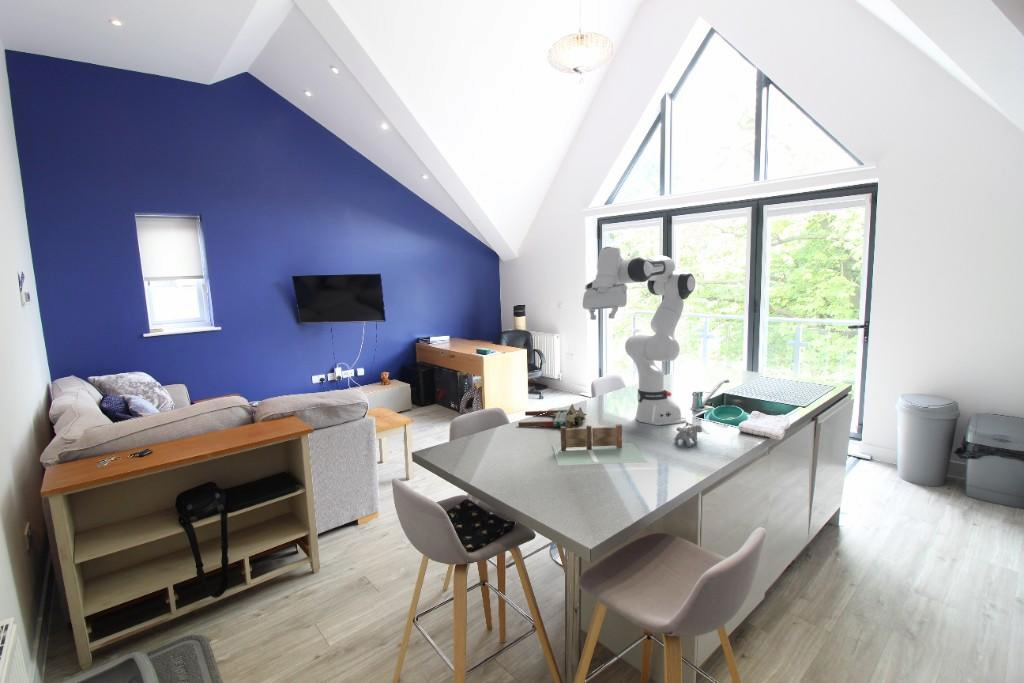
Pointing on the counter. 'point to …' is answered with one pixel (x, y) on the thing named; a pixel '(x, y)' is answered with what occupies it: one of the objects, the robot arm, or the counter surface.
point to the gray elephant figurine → (688, 433)
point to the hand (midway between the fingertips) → (602, 319)
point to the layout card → (599, 455)
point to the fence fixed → (576, 437)
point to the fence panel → (607, 436)
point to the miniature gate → (557, 418)
